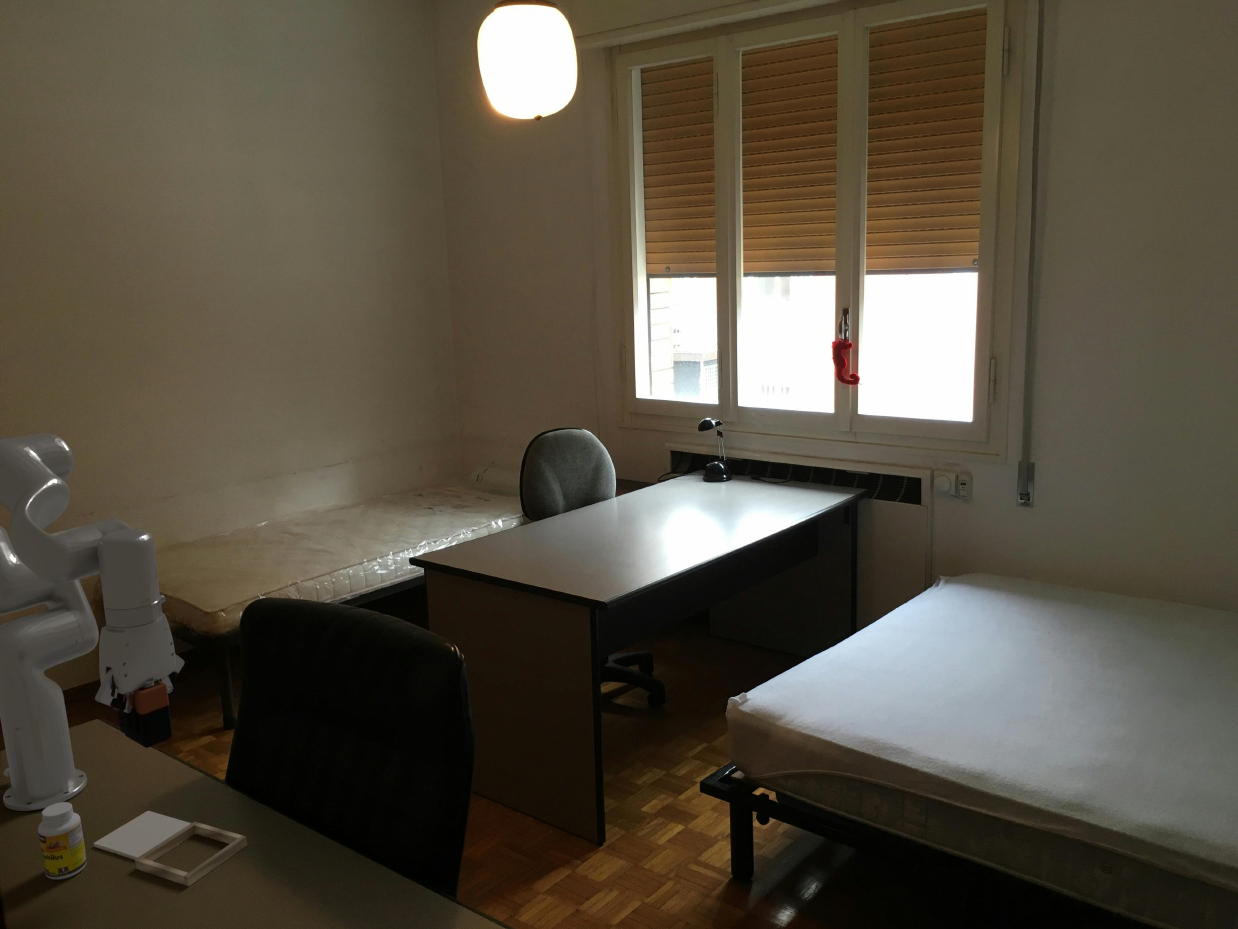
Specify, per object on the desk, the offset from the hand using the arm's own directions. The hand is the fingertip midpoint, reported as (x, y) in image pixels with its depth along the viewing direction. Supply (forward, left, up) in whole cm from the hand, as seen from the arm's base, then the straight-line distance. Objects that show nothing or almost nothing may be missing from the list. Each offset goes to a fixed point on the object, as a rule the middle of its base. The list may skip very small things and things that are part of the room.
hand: (146, 723), depth 147 cm
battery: (0, 0, -3) cm, 3 cm away
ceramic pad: (-5, 0, -21) cm, 21 cm away
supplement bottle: (-8, -11, -21) cm, 25 cm away
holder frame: (+7, -1, -21) cm, 22 cm away
